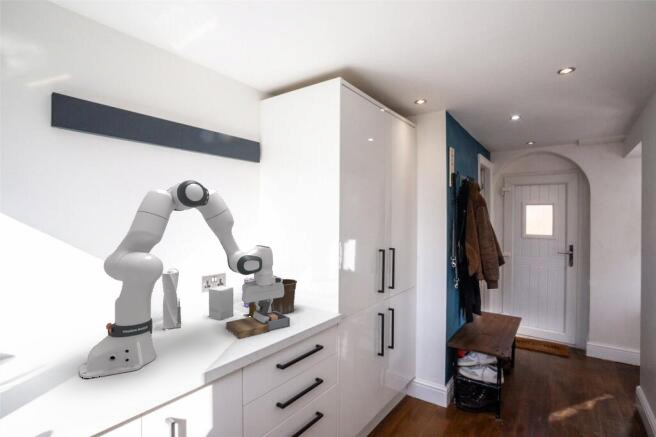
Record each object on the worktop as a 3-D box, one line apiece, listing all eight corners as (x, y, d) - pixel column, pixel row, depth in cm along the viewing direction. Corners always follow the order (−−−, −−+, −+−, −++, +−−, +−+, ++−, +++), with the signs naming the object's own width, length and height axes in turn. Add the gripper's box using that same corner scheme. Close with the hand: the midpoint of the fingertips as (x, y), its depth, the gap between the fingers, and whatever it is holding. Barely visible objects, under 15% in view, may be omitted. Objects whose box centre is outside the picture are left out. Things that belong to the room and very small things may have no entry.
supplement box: (234, 315, 167) (234, 287, 167) (220, 320, 160) (220, 290, 160) (222, 313, 172) (222, 285, 172) (208, 317, 164) (208, 288, 164)
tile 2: (271, 317, 147) (277, 315, 149) (266, 314, 151) (272, 313, 153) (271, 328, 147) (277, 326, 149) (267, 325, 151) (272, 323, 153)
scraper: (262, 323, 145) (267, 303, 146) (252, 317, 153) (257, 298, 155) (268, 323, 146) (273, 303, 148) (257, 317, 155) (262, 299, 157)
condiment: (263, 316, 167) (263, 293, 167) (247, 318, 162) (247, 295, 162) (258, 312, 173) (258, 290, 173) (243, 315, 168) (242, 292, 168)
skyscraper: (180, 329, 148) (180, 268, 148) (160, 331, 144) (160, 269, 144) (181, 323, 155) (181, 265, 155) (162, 325, 152) (162, 266, 152)
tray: (268, 331, 144) (268, 322, 144) (255, 323, 156) (255, 314, 156) (289, 326, 151) (289, 317, 151) (275, 318, 162) (275, 310, 162)
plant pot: (267, 316, 166) (267, 285, 166) (266, 308, 182) (266, 279, 182) (299, 314, 170) (299, 283, 170) (295, 306, 185) (295, 278, 185)
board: (239, 338, 135) (239, 331, 135) (226, 328, 148) (226, 321, 148) (269, 331, 144) (269, 325, 144) (254, 322, 157) (254, 316, 157)
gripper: (244, 283, 142) (245, 314, 142) (285, 278, 154) (285, 307, 154) (239, 281, 147) (239, 311, 147) (279, 276, 159) (279, 304, 159)
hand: (263, 309), depth 151 cm, fingers closed on scraper, 4 cm apart
